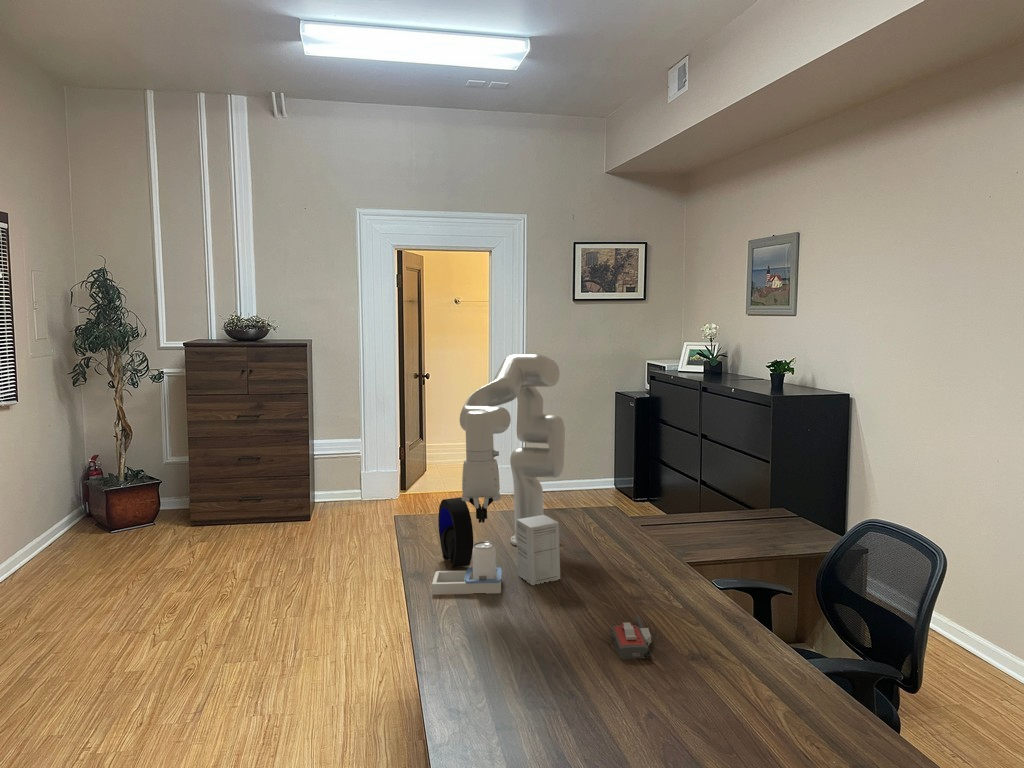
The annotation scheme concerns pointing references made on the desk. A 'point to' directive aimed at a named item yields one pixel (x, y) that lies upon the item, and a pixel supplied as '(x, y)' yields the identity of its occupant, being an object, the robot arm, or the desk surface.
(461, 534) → the headphones
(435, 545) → the desk surface
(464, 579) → the block
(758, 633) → the desk surface
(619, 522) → the desk surface
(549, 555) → the supplement box
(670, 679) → the desk surface
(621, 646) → the walkie-talkie
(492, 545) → the can
